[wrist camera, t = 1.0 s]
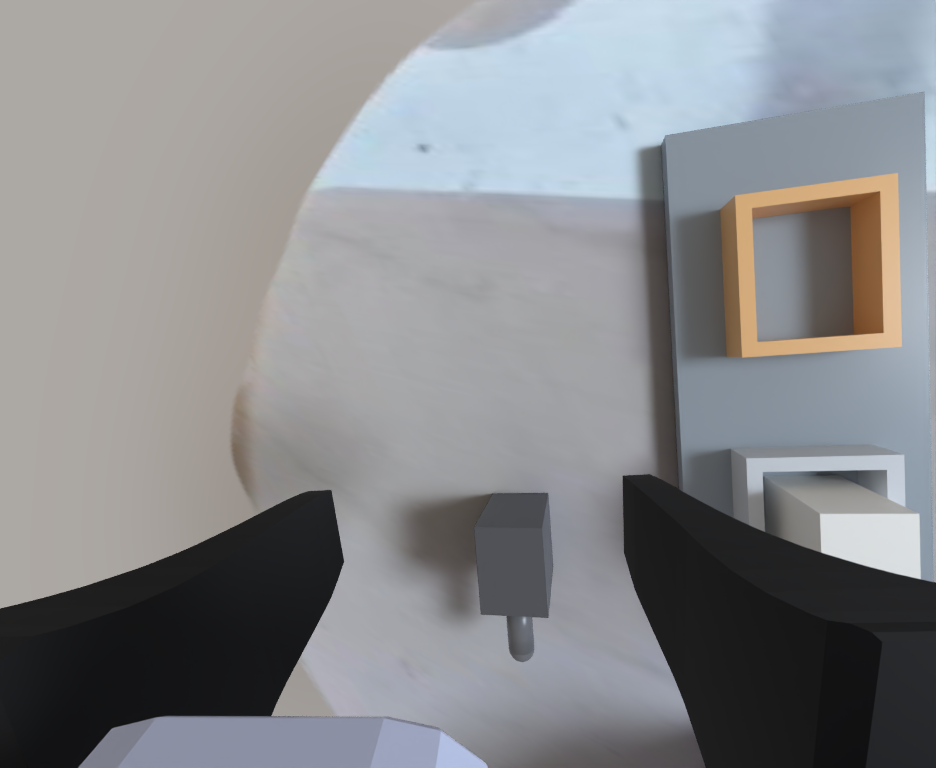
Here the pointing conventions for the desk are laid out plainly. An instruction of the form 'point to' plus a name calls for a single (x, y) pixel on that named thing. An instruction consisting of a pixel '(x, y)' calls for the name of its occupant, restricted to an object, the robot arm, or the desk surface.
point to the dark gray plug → (515, 564)
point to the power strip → (806, 327)
